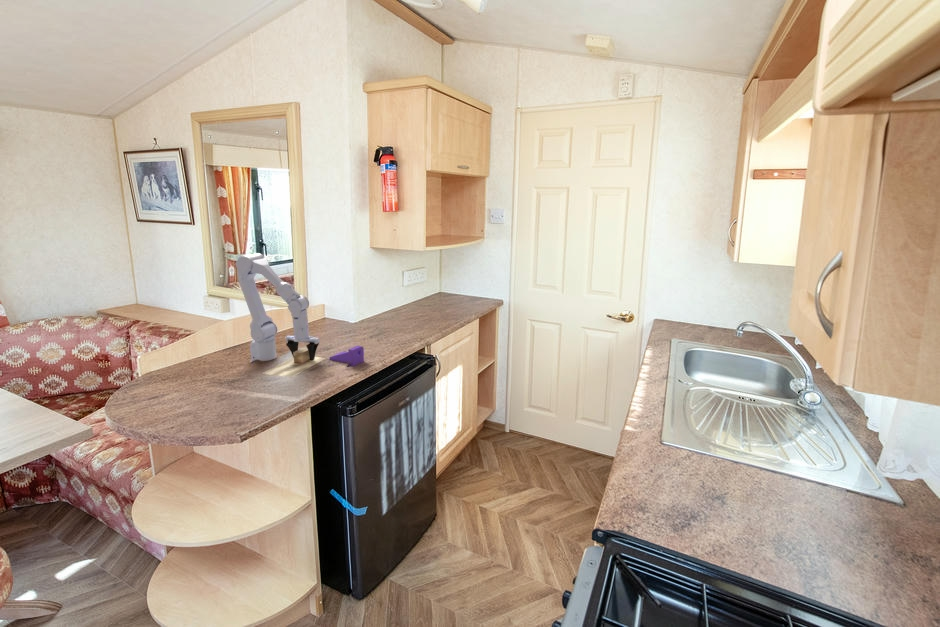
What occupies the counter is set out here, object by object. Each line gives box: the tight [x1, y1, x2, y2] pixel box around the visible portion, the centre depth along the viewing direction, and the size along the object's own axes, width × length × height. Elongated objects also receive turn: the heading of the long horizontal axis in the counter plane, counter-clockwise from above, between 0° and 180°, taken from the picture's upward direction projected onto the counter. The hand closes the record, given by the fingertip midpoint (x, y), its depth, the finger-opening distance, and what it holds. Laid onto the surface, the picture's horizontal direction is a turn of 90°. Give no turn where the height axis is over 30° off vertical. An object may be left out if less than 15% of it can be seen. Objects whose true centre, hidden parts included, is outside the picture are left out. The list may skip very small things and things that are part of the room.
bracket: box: [329, 345, 365, 367], centre depth 196 cm, size 12×7×7 cm, turn 64°
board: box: [261, 356, 326, 378], centre depth 190 cm, size 14×22×1 cm, turn 164°
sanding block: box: [292, 346, 310, 364], centre depth 195 cm, size 4×7×4 cm, turn 164°
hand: (304, 359), depth 195 cm, fingers open, 7 cm apart
